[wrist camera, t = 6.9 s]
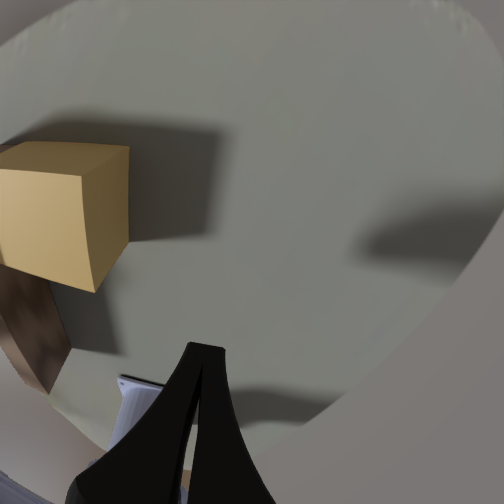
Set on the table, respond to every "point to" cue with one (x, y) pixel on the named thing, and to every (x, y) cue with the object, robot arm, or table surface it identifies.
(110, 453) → the robot arm
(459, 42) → the table surface
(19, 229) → the ochre block
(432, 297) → the table surface
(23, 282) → the walnut block
